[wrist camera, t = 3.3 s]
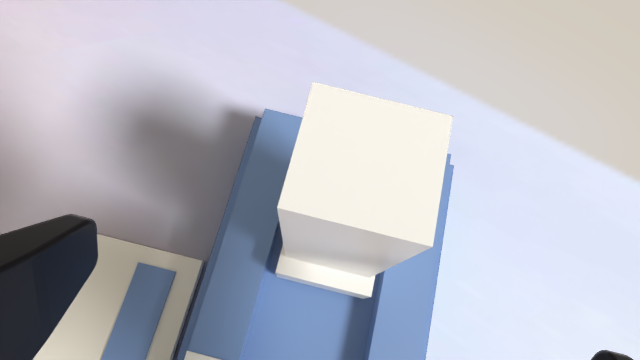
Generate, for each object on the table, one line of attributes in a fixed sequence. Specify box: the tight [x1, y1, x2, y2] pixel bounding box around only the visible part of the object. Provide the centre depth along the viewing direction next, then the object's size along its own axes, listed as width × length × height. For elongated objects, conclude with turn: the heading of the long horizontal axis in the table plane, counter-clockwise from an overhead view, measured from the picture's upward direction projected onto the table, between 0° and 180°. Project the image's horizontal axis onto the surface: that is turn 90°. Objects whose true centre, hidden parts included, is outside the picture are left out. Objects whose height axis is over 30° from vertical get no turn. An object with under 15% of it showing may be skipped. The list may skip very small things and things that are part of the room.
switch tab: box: [275, 82, 453, 299], centre depth 12 cm, size 4×3×9 cm
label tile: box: [33, 234, 204, 360], centre depth 16 cm, size 7×5×1 cm
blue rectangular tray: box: [177, 109, 454, 360], centre depth 16 cm, size 15×9×3 cm, turn 166°
